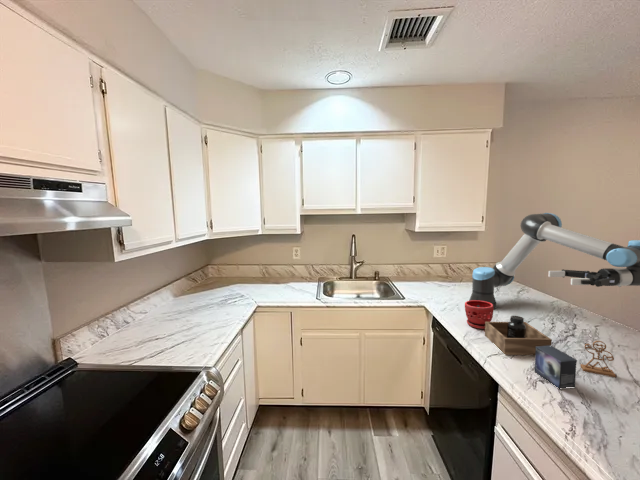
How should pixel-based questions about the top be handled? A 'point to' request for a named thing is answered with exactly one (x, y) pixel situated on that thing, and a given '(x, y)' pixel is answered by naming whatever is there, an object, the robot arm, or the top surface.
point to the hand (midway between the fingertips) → (559, 277)
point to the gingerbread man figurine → (597, 369)
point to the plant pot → (478, 313)
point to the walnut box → (515, 339)
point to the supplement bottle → (516, 327)
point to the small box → (555, 366)
